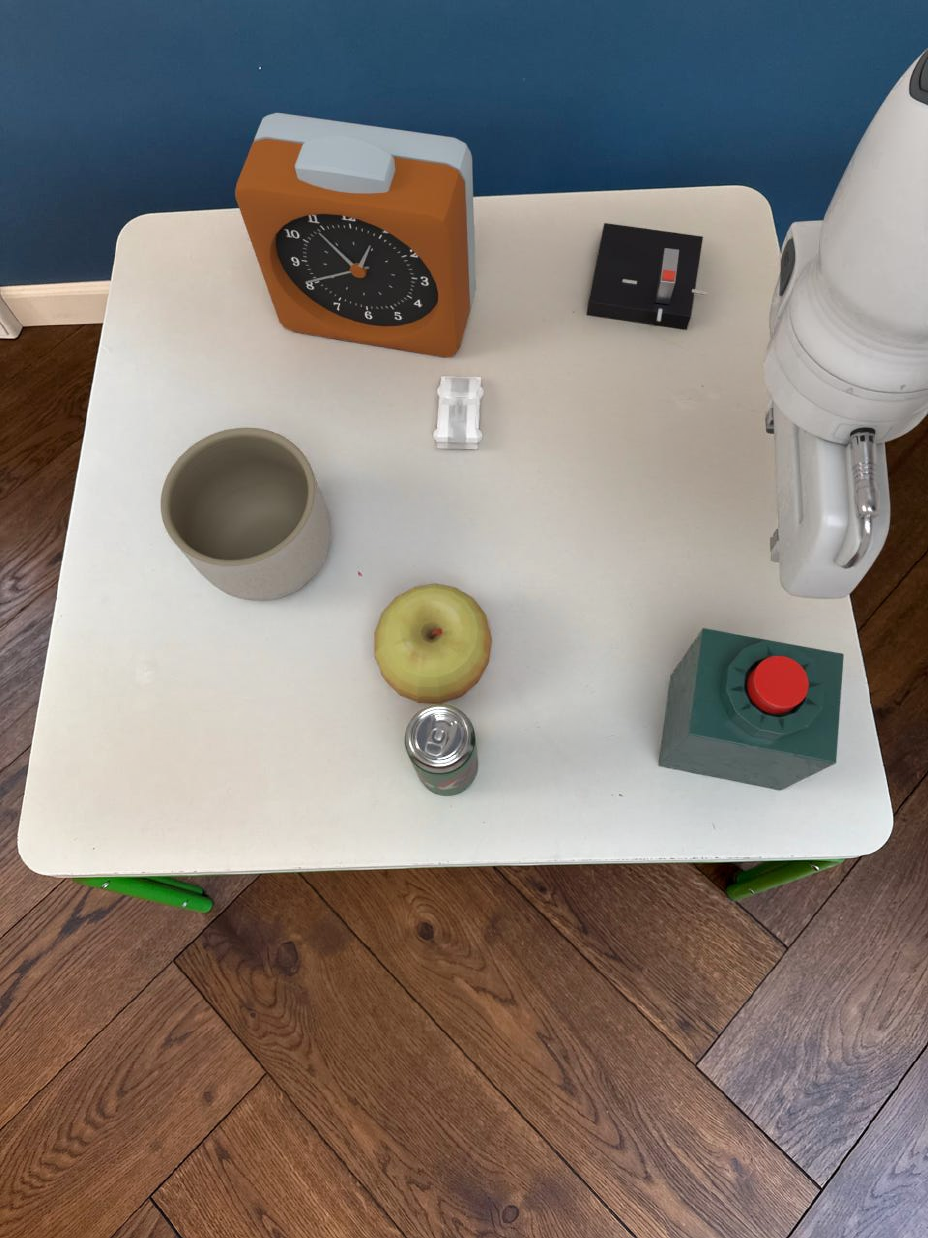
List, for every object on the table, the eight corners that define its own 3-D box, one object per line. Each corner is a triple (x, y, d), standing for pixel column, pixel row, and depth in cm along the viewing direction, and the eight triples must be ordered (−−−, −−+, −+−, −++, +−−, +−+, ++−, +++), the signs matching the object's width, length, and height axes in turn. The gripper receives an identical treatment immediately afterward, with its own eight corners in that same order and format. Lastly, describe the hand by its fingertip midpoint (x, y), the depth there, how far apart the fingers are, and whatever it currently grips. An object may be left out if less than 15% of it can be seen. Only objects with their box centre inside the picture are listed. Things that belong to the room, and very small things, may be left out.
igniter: (789, 697, 73) (854, 645, 60) (781, 790, 71) (846, 758, 58) (670, 674, 74) (708, 619, 61) (658, 766, 72) (694, 728, 59)
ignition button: (802, 668, 60) (810, 661, 58) (798, 718, 59) (806, 712, 57) (749, 658, 61) (756, 651, 59) (744, 708, 59) (751, 701, 58)
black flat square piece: (709, 252, 89) (714, 236, 87) (696, 340, 86) (701, 326, 84) (601, 237, 90) (604, 221, 88) (584, 324, 87) (586, 309, 85)
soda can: (486, 747, 73) (484, 713, 61) (466, 805, 71) (461, 781, 60) (429, 728, 73) (417, 691, 62) (408, 785, 72) (392, 758, 61)
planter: (363, 524, 80) (344, 464, 70) (292, 638, 77) (261, 592, 66) (251, 470, 82) (216, 404, 72) (176, 578, 79) (129, 524, 69)
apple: (500, 703, 74) (501, 677, 66) (387, 721, 74) (375, 697, 66) (482, 597, 77) (480, 560, 70) (373, 614, 77) (360, 579, 70)
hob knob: (659, 270, 86) (665, 245, 83) (673, 271, 86) (679, 247, 83) (654, 302, 85) (660, 279, 82) (669, 304, 85) (675, 281, 82)
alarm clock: (280, 332, 88) (219, 163, 68) (304, 264, 91) (252, 82, 71) (458, 362, 86) (448, 197, 66) (477, 291, 89) (473, 113, 69)
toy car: (432, 453, 82) (431, 440, 80) (437, 381, 85) (436, 367, 83) (482, 454, 82) (481, 442, 80) (485, 382, 85) (485, 368, 83)
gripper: (945, 543, 40) (838, 639, 53) (906, 202, 47) (820, 360, 60) (806, 535, 41) (734, 632, 54) (788, 199, 48) (728, 357, 61)
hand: (779, 486), depth 57 cm, fingers open, 8 cm apart
